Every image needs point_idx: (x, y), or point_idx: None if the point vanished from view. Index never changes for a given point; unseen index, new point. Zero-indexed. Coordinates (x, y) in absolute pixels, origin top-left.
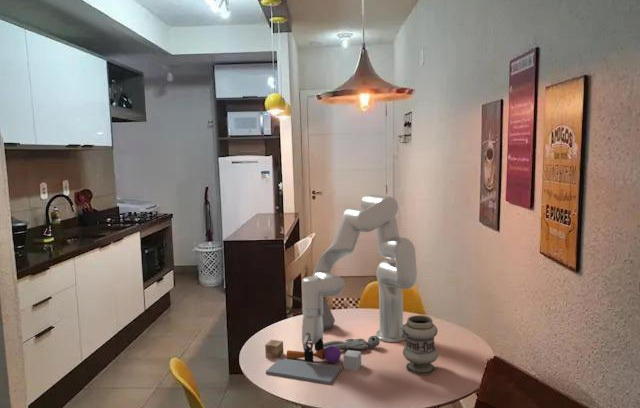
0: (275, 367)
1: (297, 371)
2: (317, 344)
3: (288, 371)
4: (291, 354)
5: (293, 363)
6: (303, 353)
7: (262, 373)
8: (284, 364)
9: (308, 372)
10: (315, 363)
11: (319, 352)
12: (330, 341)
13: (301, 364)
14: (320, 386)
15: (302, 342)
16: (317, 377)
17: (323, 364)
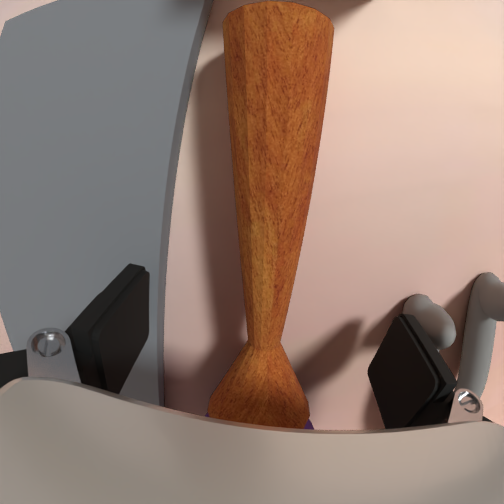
0: (36, 40)
1: (14, 229)
2: (404, 379)
3: (1, 165)
4: (229, 70)
5: (104, 147)
6: (247, 233)
7: (24, 4)
8: (78, 74)
9: (32, 303)
10: (152, 340)
11: (233, 407)
12: (484, 382)
13: (102, 230)
14: (8, 348)
15: (8, 383)
16: (22, 348)
17: (156, 385)
